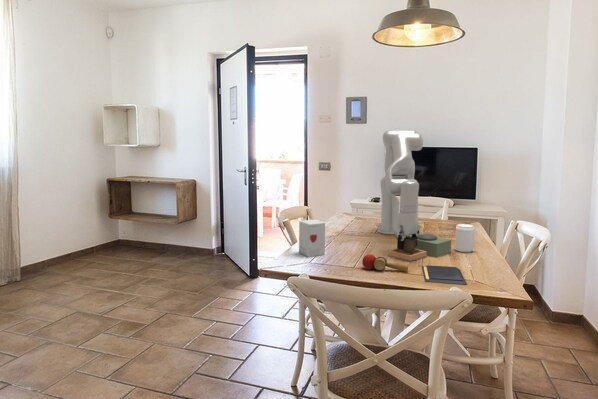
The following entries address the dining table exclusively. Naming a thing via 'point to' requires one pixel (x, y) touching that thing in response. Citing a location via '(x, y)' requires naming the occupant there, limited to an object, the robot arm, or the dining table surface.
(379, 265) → the kendama
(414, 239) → the dark bronze domed piece
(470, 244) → the beverage can
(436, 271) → the wallet
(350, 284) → the dining table surface
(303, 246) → the supplement box
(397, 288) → the dining table surface
